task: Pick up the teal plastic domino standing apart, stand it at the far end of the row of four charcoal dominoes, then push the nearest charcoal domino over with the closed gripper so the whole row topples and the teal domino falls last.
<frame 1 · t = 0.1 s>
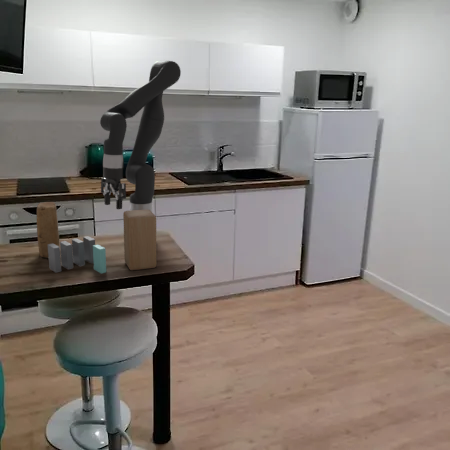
hand: (113, 206, 178), 17 cm above the table, tool pointing down, fingers open, 8 cm apart
block: (50, 254, 173), on the table
domino 1: (90, 260, 168), on the table
wooden block: (140, 265, 167), on the table
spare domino: (100, 270, 160), on the table
domino 3: (67, 266, 162), on the table
domino 4: (55, 269, 159), on the table
domino 2: (78, 263, 165), on the table
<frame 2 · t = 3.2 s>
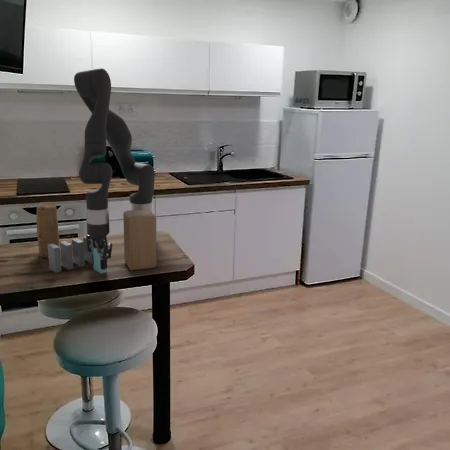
hand: (99, 266, 159), 2 cm above the table, tool pointing down, fingers closed on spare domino, 5 cm apart
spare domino: (100, 270, 160), on the table, touching gripper
everything else where it was.
when the fingers open (2 cm above the table, at t = 8.4 s): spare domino stays where it is, on the table.
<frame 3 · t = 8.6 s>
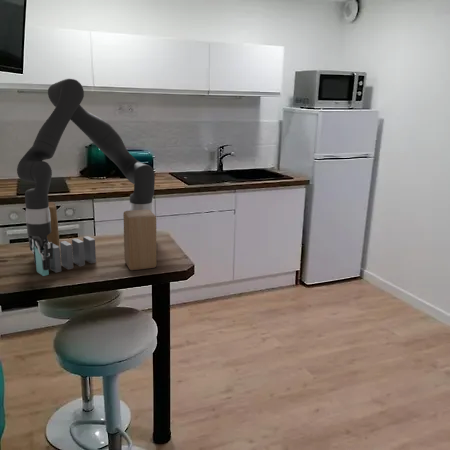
hand: (42, 266, 155), 2 cm above the table, tool pointing down, fingers open, 6 cm apart
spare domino: (42, 273, 156), on the table
everything else where it was.
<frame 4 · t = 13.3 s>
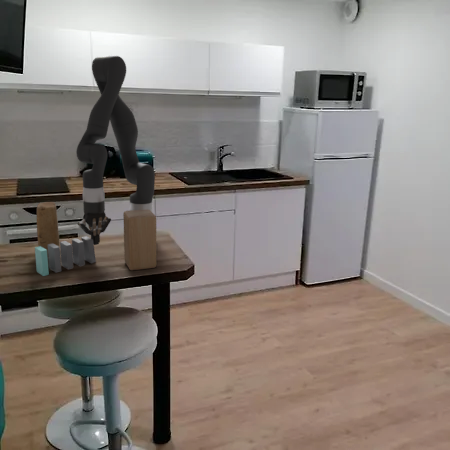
hand: (95, 244, 168), 6 cm above the table, tool pointing down, fingers closed
domino 1: (90, 260, 168), on the table, tilted 5°
everything else where it was.
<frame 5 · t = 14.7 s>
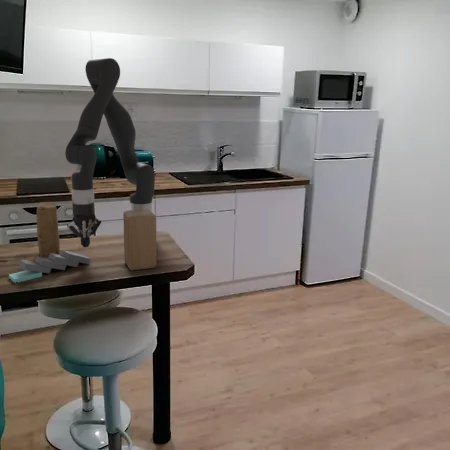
hand: (85, 246, 165), 6 cm above the table, tool pointing down, fingers closed
domino 1: (86, 259, 167), point 1 cm above the table, tilted 64°, touching domino 2
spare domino: (39, 272, 155), on the table, tilted 90°, touching domino 4
domino 3: (62, 265, 161), point 1 cm above the table, tilted 66°, touching domino 2
domino 4: (47, 268, 157), point 1 cm above the table, tilted 66°, touching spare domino
domino 2: (74, 262, 164), point 1 cm above the table, tilted 64°, touching domino 1, domino 3
everything else where it was.
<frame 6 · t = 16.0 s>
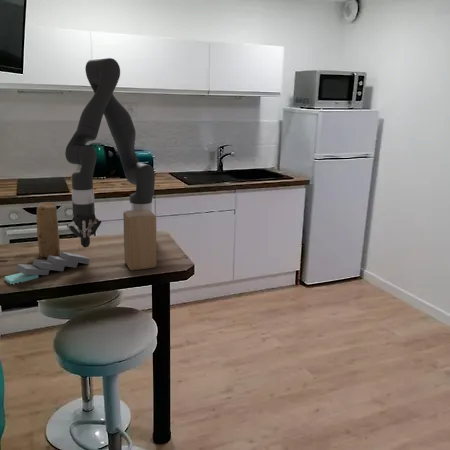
hand: (85, 246, 165), 6 cm above the table, tool pointing down, fingers closed
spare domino: (35, 274, 154), on the table, tilted 90°, touching domino 4
domino 3: (60, 266, 160), point 1 cm above the table, tilted 67°, touching domino 2, domino 4
domino 4: (44, 270, 156), point 1 cm above the table, tilted 70°, touching domino 3, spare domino
domino 2: (73, 263, 163), point 1 cm above the table, tilted 66°, touching domino 1, domino 3
everything else where it was.
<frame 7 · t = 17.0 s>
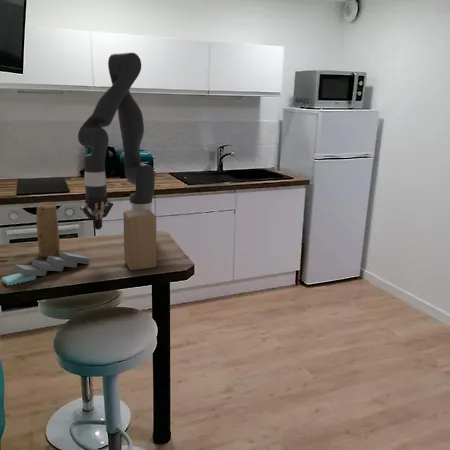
hand: (98, 228, 168), 12 cm above the table, tool pointing down, fingers closed
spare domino: (32, 275, 153), on the table, tilted 90°
domino 4: (41, 270, 154), point 1 cm above the table, tilted 69°, touching domino 3
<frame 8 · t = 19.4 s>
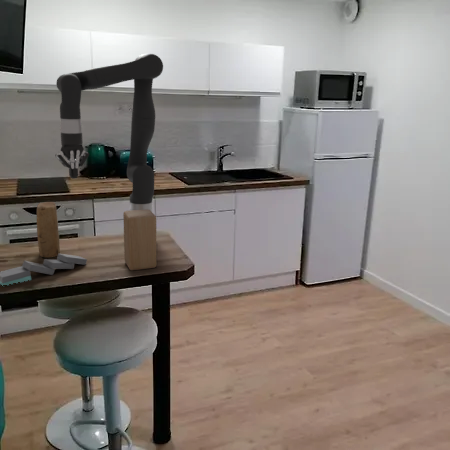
hand: (73, 178, 170), 29 cm above the table, tool pointing down, fingers closed
domino 1: (82, 260, 166), point 1 cm above the table, tilted 68°, touching domino 2
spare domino: (28, 275, 152), point 1 cm above the table, tilted 90°, touching domino 4
domino 3: (50, 270, 156), point 1 cm above the table, tilted 63°, touching domino 2
domino 4: (26, 270, 151), point 3 cm above the table, tilted 90°, touching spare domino
domino 2: (69, 264, 162), point 1 cm above the table, tilted 72°, touching domino 1, domino 3
everything else where it was.
at the end: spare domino tilted 90°; domino 3 tilted 63°; the gripper is holding nothing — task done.
